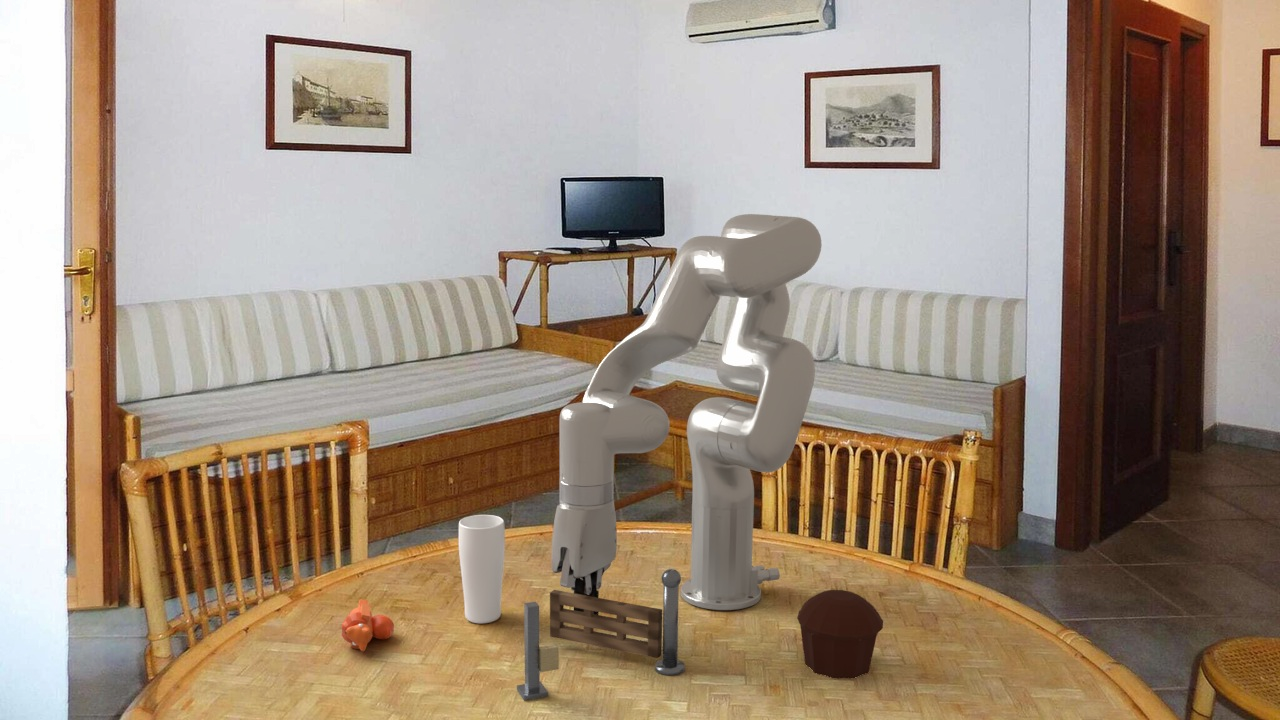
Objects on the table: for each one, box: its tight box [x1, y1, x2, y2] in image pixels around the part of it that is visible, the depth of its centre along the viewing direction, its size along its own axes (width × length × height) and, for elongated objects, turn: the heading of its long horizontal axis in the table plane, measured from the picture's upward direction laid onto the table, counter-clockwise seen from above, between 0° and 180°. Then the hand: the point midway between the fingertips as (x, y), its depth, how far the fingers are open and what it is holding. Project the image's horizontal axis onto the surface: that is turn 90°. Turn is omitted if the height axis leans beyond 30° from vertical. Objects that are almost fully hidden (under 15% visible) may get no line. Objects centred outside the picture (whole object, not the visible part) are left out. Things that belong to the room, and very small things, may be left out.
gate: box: [549, 589, 663, 659], centre depth 158 cm, size 16×1×6 cm, turn 66°
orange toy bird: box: [340, 598, 395, 652], centre depth 163 cm, size 5×8×12 cm
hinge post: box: [654, 568, 686, 677], centre depth 153 cm, size 4×4×14 cm
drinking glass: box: [457, 514, 506, 624], centre depth 170 cm, size 7×7×15 cm
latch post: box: [516, 601, 560, 701], centre depth 146 cm, size 5×3×12 cm
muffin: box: [796, 589, 884, 679], centre depth 156 cm, size 12×11×10 cm
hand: (586, 616), depth 163 cm, fingers closed
